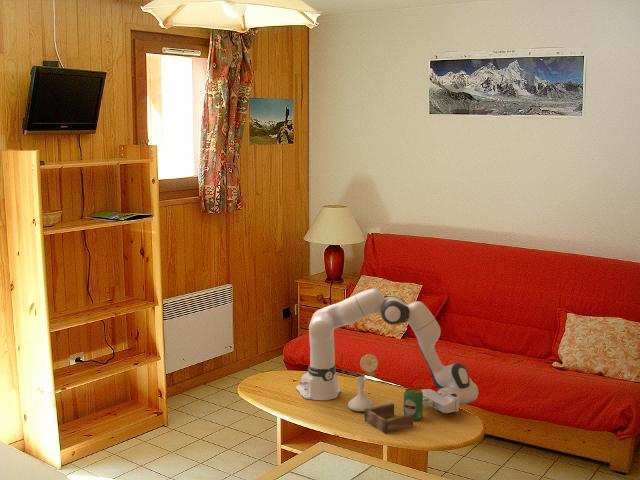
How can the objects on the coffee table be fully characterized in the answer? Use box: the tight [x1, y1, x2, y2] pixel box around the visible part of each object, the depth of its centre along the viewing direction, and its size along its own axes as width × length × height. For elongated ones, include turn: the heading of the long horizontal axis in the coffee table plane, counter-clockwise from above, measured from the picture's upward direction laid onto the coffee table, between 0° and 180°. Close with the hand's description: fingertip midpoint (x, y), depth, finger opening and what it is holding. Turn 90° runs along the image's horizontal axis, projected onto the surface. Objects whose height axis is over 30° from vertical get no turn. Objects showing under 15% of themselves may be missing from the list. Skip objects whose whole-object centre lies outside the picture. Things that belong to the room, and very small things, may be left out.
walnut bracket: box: [364, 402, 414, 434], centre depth 315 cm, size 15×14×5 cm
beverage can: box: [403, 387, 424, 422], centre depth 321 cm, size 8×8×12 cm
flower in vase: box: [347, 353, 379, 412], centre depth 329 cm, size 13×11×25 cm
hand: (420, 403), depth 323 cm, fingers closed, pressing on beverage can
